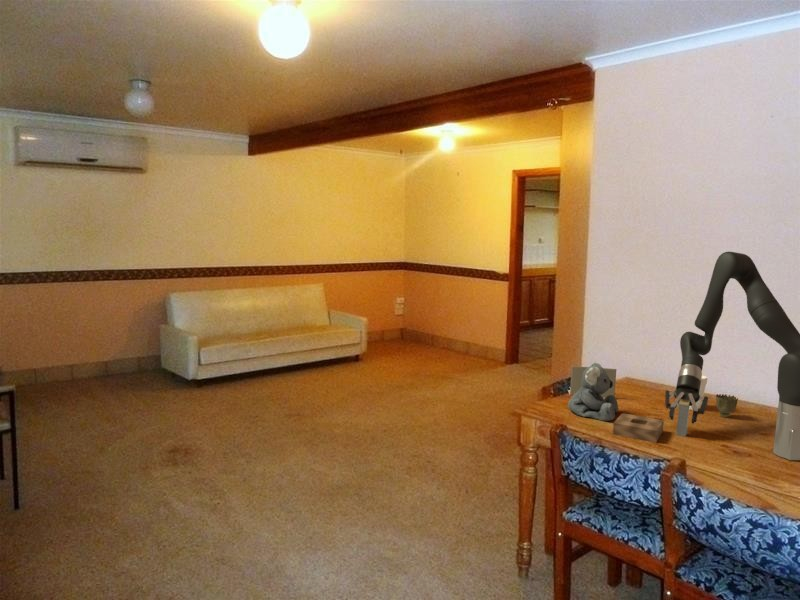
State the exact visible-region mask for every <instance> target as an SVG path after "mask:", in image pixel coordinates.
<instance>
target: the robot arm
mask: <svg viewBox="0 0 800 600" xmlns="http://www.w3.org/2000/svg"><path fill="white" fill-rule="evenodd" d="M711 274H712V275H711V278H710V281H709V285H708V289H707V292H706V295H705V298H704V301H703V303H702V306H701V307H700V310H699V312H698V314H697V316H696V318H695V321H694V326H695V327H696V328H697V329H699V330H701V331H703V333H704V335H702V334H699V333H697V332H696V333H695V332H693V331H686V332H684V333H683V334H682V335H681V337H680V341H679V344H680V351H681V366H680V369H679V372H678V375H677V376H678V377H677V382H676V387H675V390H674V391H669V390H667V389H666V390H665V392H664V393H665V395H664V396H665V400H664V401H665V402H664V403H665V409H669V414H668V418H669V419H670V420H672V421H674V418H675V412H676V411H675V410H676V409H677V408H679V401H680V399H683V400H689V401H690V405H689V406H691V407H692V409H691V410H692V415H691V424H695V423H697V421H698V415H704V414H705V412H706V409H707V406H708V403H709V397H708V396H707V395H706V396H703V397H701V396H700V395H699V391H700V385H701V381H702V380H701V379H702V375H703V366H704V357H702V356H706V355H708V354H709V353H710V352H711V350H712V344H713V337H714V332H715V330H716V327H717V325H718V324H719V321H720V319H721V316H722V314H723V312H724V294H725V290H726V287H727V284H728V283H729V281H730V279H734V280H736V281H737V282H738V284H739V285H740V286H741V287H742V290H743V292H744V293H745V295H746V308H747V311H748V313H749V315H750V317H751V319H752V321H754V323H755V324H756V326H757V328H758V329H759V330H760V331H761V332H763V333H764V335H766V336H767V337H768V338H770V339H772V341H774V342H776V343H777V344H778V345H779V346H781V348H783V349H784V351H785V352H786V353H785V354H784V355H783V356H781V358H780V360H779V363H778V369H777V385H776V386H777V387H776V388H777V393H778V405H777V412H776V413H777V414H776V415H777V416H776V423H775V424H776V425H775V432H774V434H775V435H774V440H773V441H774V444H773V450H772V451H773V454H774V455H776V456H778V457H780V458H783V459H787V460H789V461H800V332H799V330H798V329H797V328H796V326H795V324H794V323H793V322H792V321H791V319H790V317H789V316H788V315H787V313H786V311H785V310H784V308H783V307H782V306H781V304H780V302H779V301H778V300H777V299H776V297H775V296H774V295H773V293H772V291H771V290H770V288H769V287H768V285H767V284H766V283H765V282H764V280H763V278H762V276H761V274H760V272H759V270H758V268H757V266H756V264H755V262H754V260H753V259H752V258H751V257H750V256H749V255H747V254H745V253H740V252H734V251H725V252H722V253H721V254H720V255H719V256H718V257H717V259H716V262H715V264H714V266H713V271H712V273H711ZM673 397H674V398H675V399H674V401H673V402H672V403H670V399H672V398H673ZM699 400H701V407H700V409H698V408H697V406H696V402H697V401H699Z"/></svg>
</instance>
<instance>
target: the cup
mask: <svg viewBox="0 0 800 600" xmlns="http://www.w3.org/2000/svg"><path fill="white" fill-rule="evenodd" d="M715 397H716V398H715V399H716V400H715V401H716V409H717V411H718V412H720V413H719V414H720V417H723V418H730V417H731V416H732V414H733V413H734V412H735V410H736V408H737V404H738V401H739V397H737V396H735V395H731V394H729V395H728V394H726V393H725V394H724V393H722V394H720V393H719V394H718V393H717V394H715Z"/></svg>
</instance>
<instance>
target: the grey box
mask: <svg viewBox="0 0 800 600" xmlns="http://www.w3.org/2000/svg"><path fill="white" fill-rule="evenodd" d="M588 367H589V366H580V365H579V366H576V365H572V366H571V373H570V374H571V375H570V377H571V378H570V386H569V388H570V390H568V389H567V391H568V394H569V395H570V394H575V393H577V391H579V390H580V388H581V386H582V383H581V381H582V374H583V372H584V371H585V370H586V369H587V368H588ZM602 368H603V369H604V370H605V372H606V373H607V375H608V377H609V379H610V380H611V381H612V382H613V386H612V388H609V389H608V390H607V391H606V392H605V393H603V394H601V396H602V397H606V396H608V395H615V393H616V381H617V380H616V379H617V369H616V368H605V367H602ZM615 396H616V395H615Z"/></svg>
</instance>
